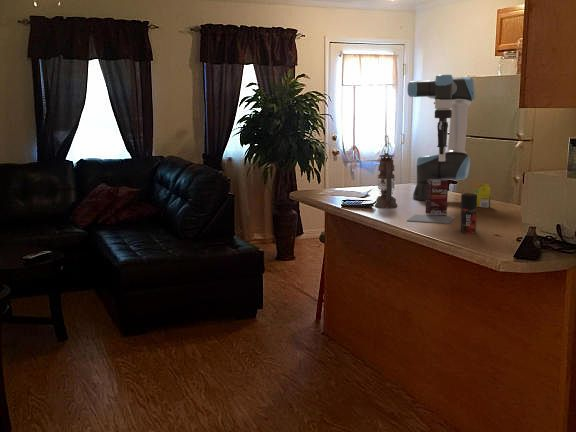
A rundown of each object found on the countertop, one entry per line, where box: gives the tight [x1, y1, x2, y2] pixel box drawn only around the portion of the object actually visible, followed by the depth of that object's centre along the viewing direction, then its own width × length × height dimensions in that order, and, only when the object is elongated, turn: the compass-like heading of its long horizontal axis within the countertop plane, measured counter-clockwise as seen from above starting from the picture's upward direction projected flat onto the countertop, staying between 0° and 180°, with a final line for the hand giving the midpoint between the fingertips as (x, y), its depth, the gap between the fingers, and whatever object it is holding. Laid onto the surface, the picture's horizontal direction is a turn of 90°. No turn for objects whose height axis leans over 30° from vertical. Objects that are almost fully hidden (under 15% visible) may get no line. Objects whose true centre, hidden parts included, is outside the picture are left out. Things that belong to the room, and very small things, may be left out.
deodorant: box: [459, 193, 478, 234], centre depth 246 cm, size 6×6×15 cm
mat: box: [406, 213, 456, 225], centre depth 274 cm, size 15×18×1 cm
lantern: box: [374, 135, 398, 209], centre depth 306 cm, size 11×16×35 cm
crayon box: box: [473, 182, 492, 209], centre depth 302 cm, size 7×3×12 cm, turn 57°
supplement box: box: [425, 179, 449, 216], centre depth 282 cm, size 9×5×16 cm, turn 105°
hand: (441, 161), depth 288 cm, fingers closed
